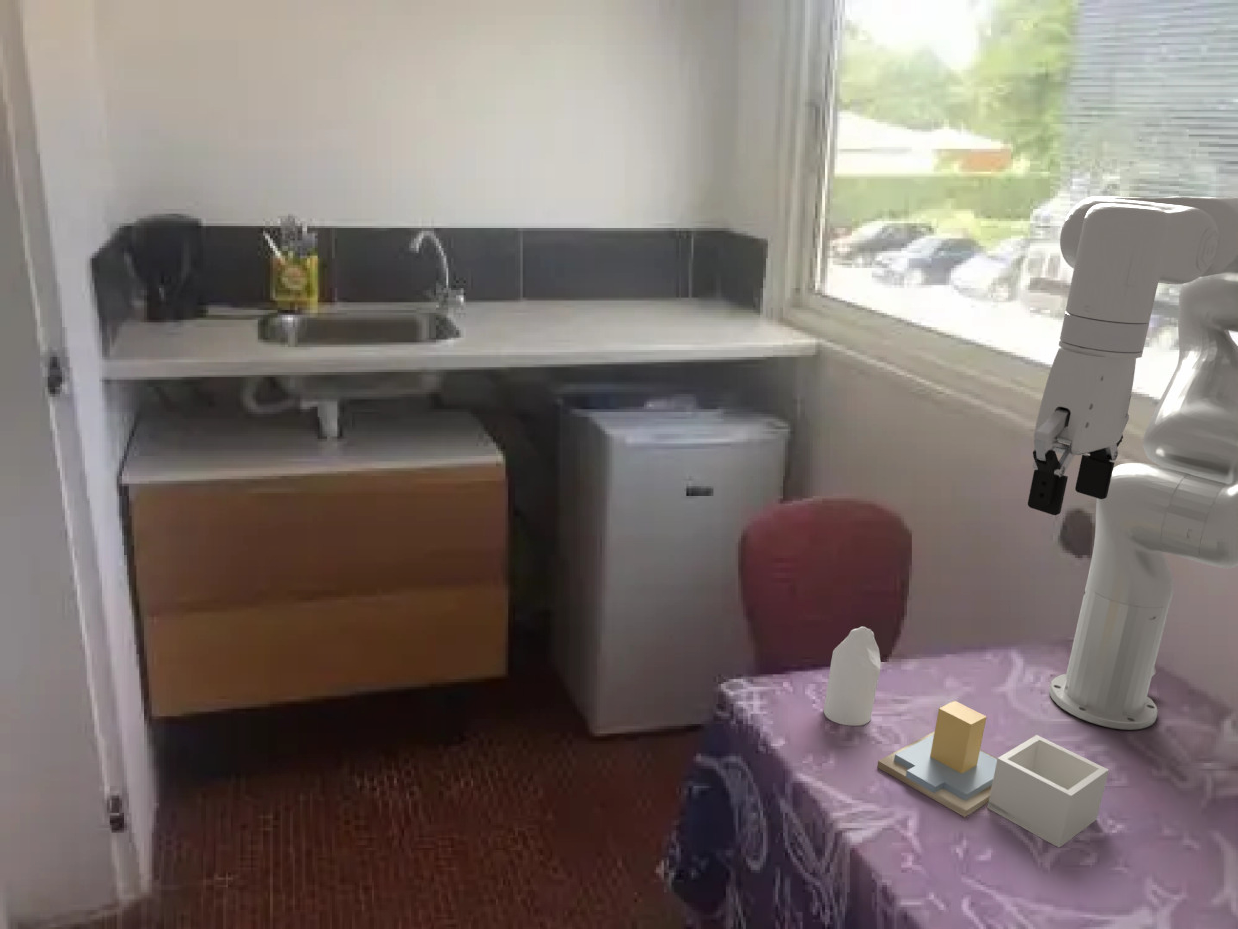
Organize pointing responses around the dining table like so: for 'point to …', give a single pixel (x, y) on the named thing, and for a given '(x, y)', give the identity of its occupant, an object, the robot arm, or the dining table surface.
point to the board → (941, 795)
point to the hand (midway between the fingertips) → (1067, 502)
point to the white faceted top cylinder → (853, 679)
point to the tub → (1047, 790)
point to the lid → (951, 754)
